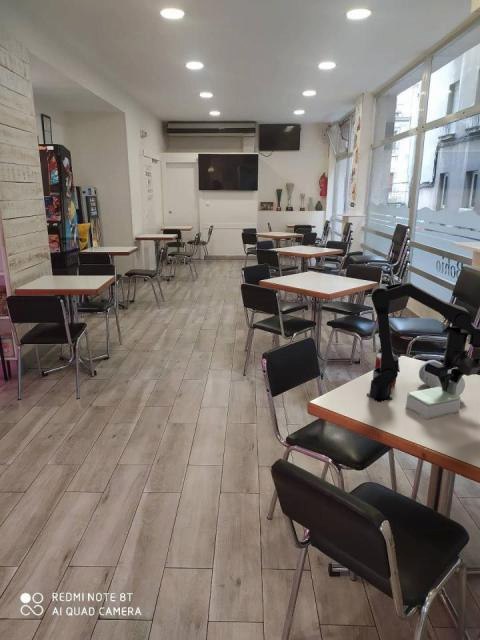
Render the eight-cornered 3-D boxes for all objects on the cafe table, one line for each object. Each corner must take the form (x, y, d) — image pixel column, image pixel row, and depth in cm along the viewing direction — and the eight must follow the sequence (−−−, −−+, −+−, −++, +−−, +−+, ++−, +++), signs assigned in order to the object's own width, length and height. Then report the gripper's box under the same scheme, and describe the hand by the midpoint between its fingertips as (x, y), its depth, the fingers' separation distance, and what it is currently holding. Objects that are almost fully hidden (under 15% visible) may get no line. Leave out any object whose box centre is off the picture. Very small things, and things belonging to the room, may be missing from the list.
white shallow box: (426, 419, 139) (428, 406, 138) (405, 407, 147) (407, 395, 146) (458, 412, 145) (460, 399, 144) (436, 400, 153) (438, 388, 151)
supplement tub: (445, 370, 168) (471, 387, 154) (426, 387, 168) (450, 405, 154) (432, 354, 165) (456, 369, 151) (412, 371, 165) (435, 387, 151)
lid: (428, 405, 138) (430, 392, 137) (407, 394, 146) (409, 381, 145) (460, 398, 144) (462, 385, 142) (439, 388, 151) (440, 375, 150)
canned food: (392, 389, 161) (396, 361, 158) (370, 384, 165) (373, 357, 162) (397, 382, 167) (401, 355, 164) (376, 377, 171) (379, 351, 169)
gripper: (455, 357, 132) (447, 405, 136) (498, 350, 139) (489, 395, 143) (426, 346, 142) (420, 390, 146) (467, 340, 149) (460, 382, 153)
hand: (448, 390), depth 147 cm, fingers open, 3 cm apart
